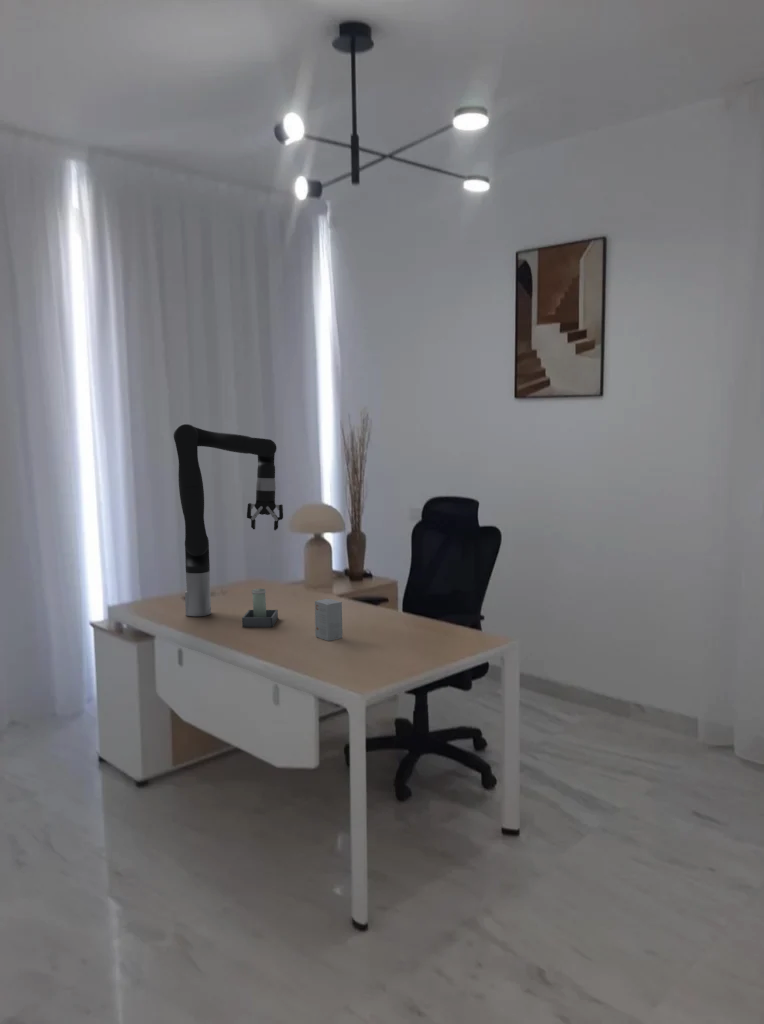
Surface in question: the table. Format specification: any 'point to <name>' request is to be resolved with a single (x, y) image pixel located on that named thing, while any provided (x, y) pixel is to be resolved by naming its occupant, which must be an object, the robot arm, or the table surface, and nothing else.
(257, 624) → the tray
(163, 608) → the table surface
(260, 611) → the canister
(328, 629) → the small box
